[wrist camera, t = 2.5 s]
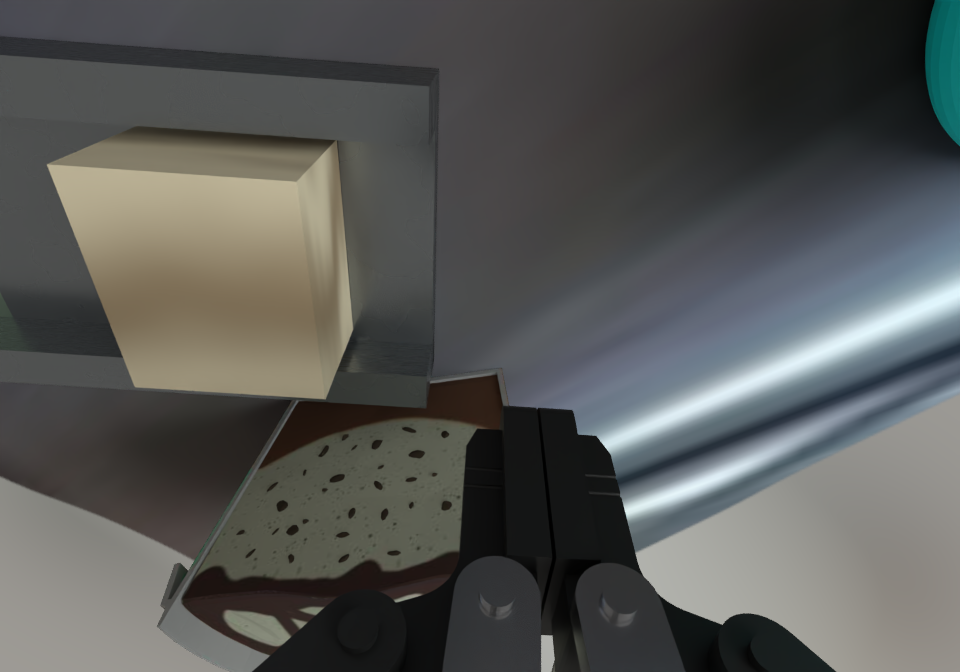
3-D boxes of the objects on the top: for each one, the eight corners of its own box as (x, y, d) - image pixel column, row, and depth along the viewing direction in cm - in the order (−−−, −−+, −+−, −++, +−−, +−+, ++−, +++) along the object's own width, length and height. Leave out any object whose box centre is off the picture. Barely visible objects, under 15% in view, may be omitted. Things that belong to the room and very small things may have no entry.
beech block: (138, 125, 16) (46, 164, 13) (336, 139, 16) (296, 181, 13) (194, 319, 20) (134, 387, 17) (352, 329, 20) (325, 398, 17)
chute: (-379, 8, 16) (-614, 17, 12) (438, 69, 16) (424, 93, 13) (-151, 322, 22) (-266, 384, 18) (433, 359, 22) (423, 427, 19)
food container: (312, 490, 27) (233, 716, 19) (262, 400, 24) (140, 628, 15) (553, 463, 26) (581, 695, 17) (536, 362, 22) (562, 593, 14)
